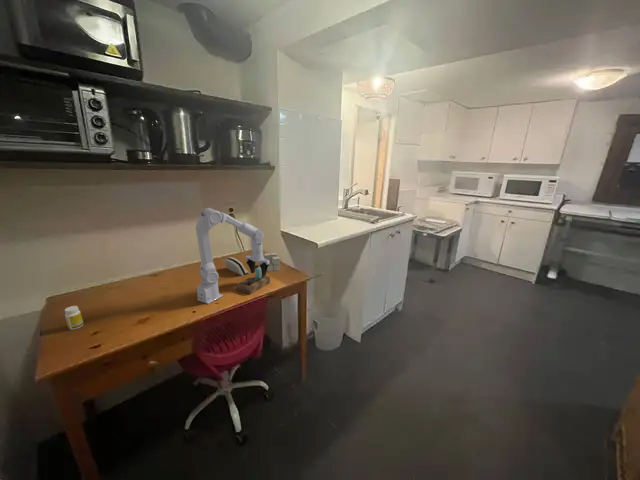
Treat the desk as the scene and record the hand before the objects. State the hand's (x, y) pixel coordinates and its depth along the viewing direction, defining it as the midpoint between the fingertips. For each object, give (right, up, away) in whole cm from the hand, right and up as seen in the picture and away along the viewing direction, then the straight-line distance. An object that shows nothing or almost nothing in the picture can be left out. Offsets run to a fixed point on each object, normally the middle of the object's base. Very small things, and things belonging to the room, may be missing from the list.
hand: (258, 274), depth 152 cm
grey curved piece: (-17, -1, +17) cm, 25 cm away
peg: (0, -5, +2) cm, 6 cm away
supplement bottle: (-66, -17, -39) cm, 78 cm away
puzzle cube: (+1, +1, +24) cm, 24 cm away
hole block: (-2, -6, -2) cm, 7 cm away
